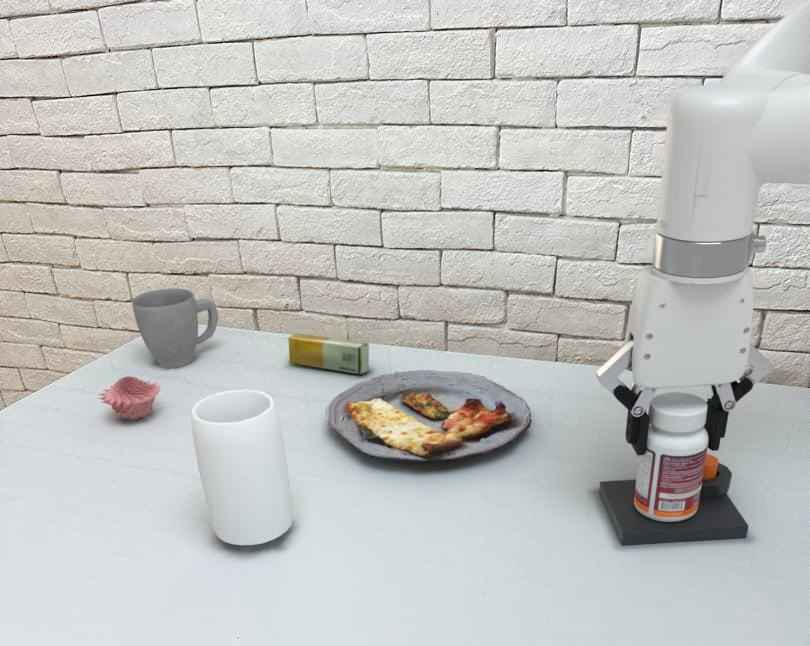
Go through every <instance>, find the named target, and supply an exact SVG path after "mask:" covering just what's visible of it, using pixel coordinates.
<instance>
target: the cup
mask: <svg viewBox="0 0 810 646" xmlns="http://www.w3.org/2000/svg"><path fill="white" fill-rule="evenodd" d="M275 401H276V400H275V399H274V397H272V396H271V395H269V394H268V393H266V392H264V391H261V390H256V389H232V390H224V391H220V392H217V393H213V394H211V395H208V396H206V397H204V398H202V399H200V400H199V401H197V402H196V403H195V404H194V405H193V406H192V408H191V410H190V419H191V427H192V428H191V429H192V437H193V444H194V452H195V457H196V464H197V467H198V473H199V477H200V481H201V482H200V483H201V486H202V490H203V494H204V499H205V502H206V506H207V510H208V514H209V517H210V521H211V524H212V527H213V531H214V533H215V535H216V536H217V538H218V539H220V540H222V542H223V543H228V544H230V545H235V546H254V545H260V544H261V545H262V544H264V543H265V544H266V543H267V542H270V541H274V540H275V539H277V538H279V537H281V536H282V535H283V534H285V533H286V532H288V530H289V529H290V527H291V526H292V523H293V512H292V511H293V510H292V509H293V508H292V498H291V485H290V476H289V468H288V461H287V453H286V447H285V442H284V436H283V431H282V426H281V422H280V418H279V414H278V410H277V406H276V402H275Z"/></svg>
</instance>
